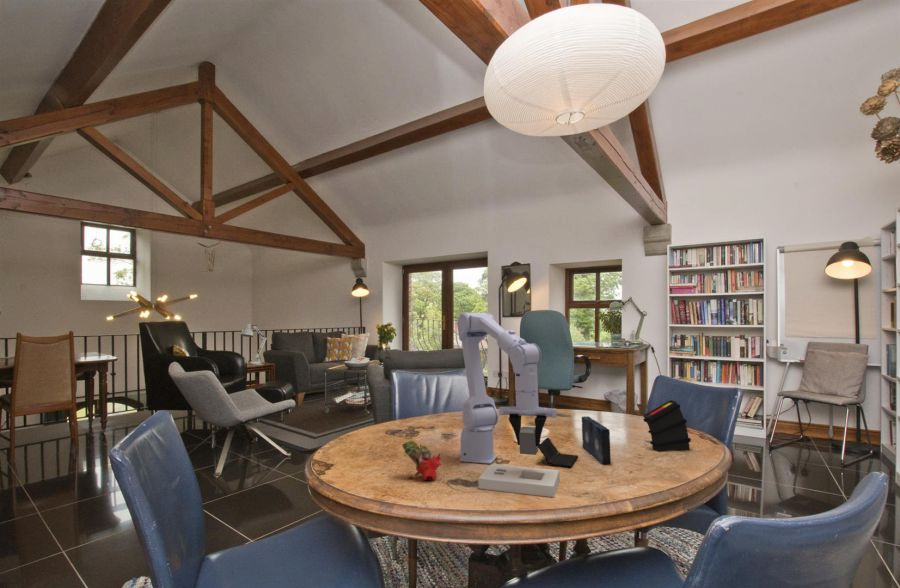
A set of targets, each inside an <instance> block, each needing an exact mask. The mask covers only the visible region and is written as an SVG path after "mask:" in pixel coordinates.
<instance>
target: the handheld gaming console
mask: <svg viewBox="0 0 900 588" xmlns="http://www.w3.org/2000/svg"><path fill="white" fill-rule="evenodd" d="M538 450H540V452H541V453H542V454H543V456H544V458H545V459H546V460H547V462H548V463H549V467H554V468H562V469H572V468H573V467H574V465H575V463H576V462H577V460H578V459H579V455H576V454H570V453H569V454H567V453H561V452H560V451H559V450H558V449H557V447H556V446H555V445H554V443H553V442H552V440H551V439H550V438H549V437H546V438H545V439H544V440H543V441H542V442H540V445H539V446H538Z"/></svg>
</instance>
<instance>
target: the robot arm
mask: <svg viewBox="0 0 900 588" xmlns="http://www.w3.org/2000/svg"><path fill="white" fill-rule="evenodd" d="M456 325H457V326H456V327H457V334H458V339H459V341H460V342H461V347H462V353H463V354H462V355H463V362H464V368H465V375H466V380H467V381H466V382H467V388H468V394H469V395H468V398H467V399H466V400H465V402H464V403H463V404H462V417H461V418H462V422H463V425H464V426H465V427H464V428H462V430H461V432H460V460H459V461H460V462H467V463H477V464H479V463H480V464H488V465H491V464H493V462H494V461H495V460H496V459H497V458H498V455H497V454H494V430H495V429H496V425H497V424H498V422H499V418H500V417H499V416H508V422H509V423H510V425H511V427H512V430H513V432H514V435H515V437H516V441H517V442H516V443H517V445H518V446H520V441H519V432H520V429H521V428H522V416H524V417H535V418H534V427H535V429H536V446H539V445H540V444H541V437H542V433H543V428H544V427H545V425H546V421H547V419H548V418H553V419H554V418H558V417H557V416H558V413H557V412H558V410H557V408H552V407H551V408H550V407H543V406H542V407H541V406H539V382H538V380H539V379H538V365H540V363H541V361H542V356H543V355H542V351H541V348H540V347H539V346H538V345H537V343H528V342H527V341H526V340H525V338H522V337H520V336H518V334H516V333H517V332H516V331H515V330H513V329H510V330H509V329H506V330H505V329H504V328H503V327H502V326H501V325H500V324H499V323H498V322H496V321H495V318H494V315H493V314H491V313H490V312H488V311H487V312H486V311H485V312H466V311H463V312H461V313H460V314H459V316H458V319H457V321H456ZM488 335H489V336H491V337H492V338H493V339H494V340H496V344H497V347H498V348H499V349H500V350H502V351H503V353H505V354H506V355H508V356H509V360H510V363H511V365H512V371H513V374H514V375H515V376H514V377H515V379H514V380H515V381H514V382H515V406H513V405H512V406H499V408H498V409H497V408H496V403H495V400H494V399H493V398H492V397H491V396H489V395H488V394H487V390H486V389H487V388H486V383H485V377H484V370H483V369H484V368H483V364H482V358H481V356H482V355H481V350H480V342H481V341H483V340H485V339H486V337H487V336H488Z"/></svg>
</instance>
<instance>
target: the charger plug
mask: <svg viewBox="0 0 900 588" xmlns="http://www.w3.org/2000/svg"><path fill="white" fill-rule="evenodd" d="M519 441H520V445H519V454H520V455H530V456H531V455H534V456H536V455H537V454H538V452H539V448H538V446H536V429H535V426H525V425H524V426H523V425H522V426H521V429H520V432H519Z"/></svg>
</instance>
